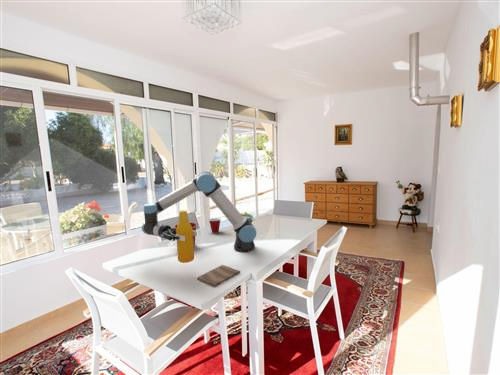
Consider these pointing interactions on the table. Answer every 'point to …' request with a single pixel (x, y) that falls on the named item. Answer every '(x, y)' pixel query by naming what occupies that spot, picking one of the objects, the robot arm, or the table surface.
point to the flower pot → (192, 229)
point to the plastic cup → (215, 224)
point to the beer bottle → (186, 246)
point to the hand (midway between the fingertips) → (190, 236)
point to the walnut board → (218, 275)
